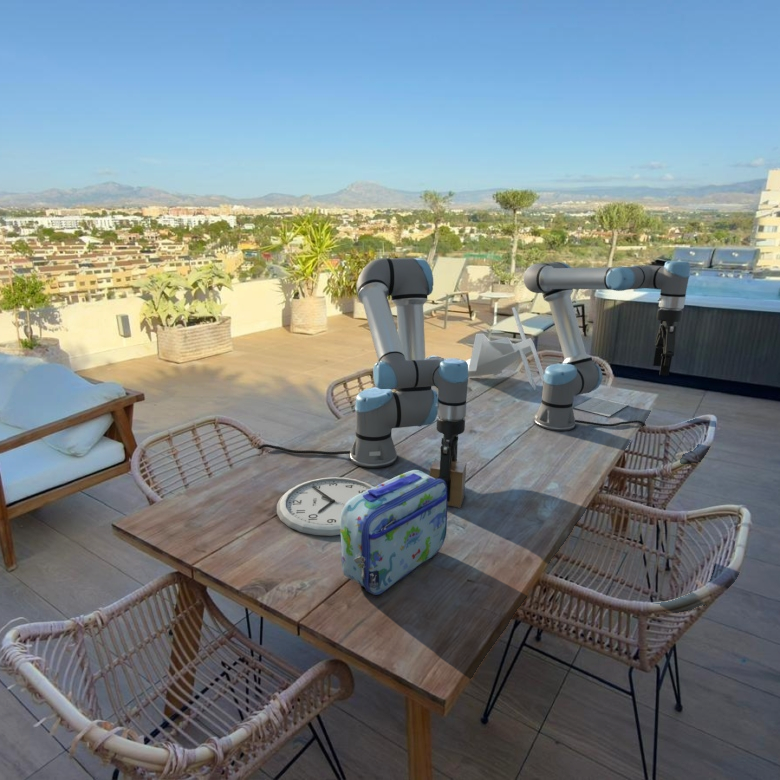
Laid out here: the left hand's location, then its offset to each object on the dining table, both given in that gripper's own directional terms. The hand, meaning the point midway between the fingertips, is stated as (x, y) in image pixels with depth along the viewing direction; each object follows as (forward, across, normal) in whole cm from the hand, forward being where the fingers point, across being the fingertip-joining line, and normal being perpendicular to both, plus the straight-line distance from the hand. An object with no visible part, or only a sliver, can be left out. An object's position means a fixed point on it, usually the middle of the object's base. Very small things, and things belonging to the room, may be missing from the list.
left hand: (446, 494), depth 146 cm
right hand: (-25, -64, +61) cm, 92 cm away
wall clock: (+2, +13, -29) cm, 32 cm away
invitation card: (+2, -101, +49) cm, 112 cm away
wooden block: (+2, 0, 0) cm, 2 cm away
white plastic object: (+2, -122, +3) cm, 122 cm away
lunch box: (+2, +34, -5) cm, 35 cm away
